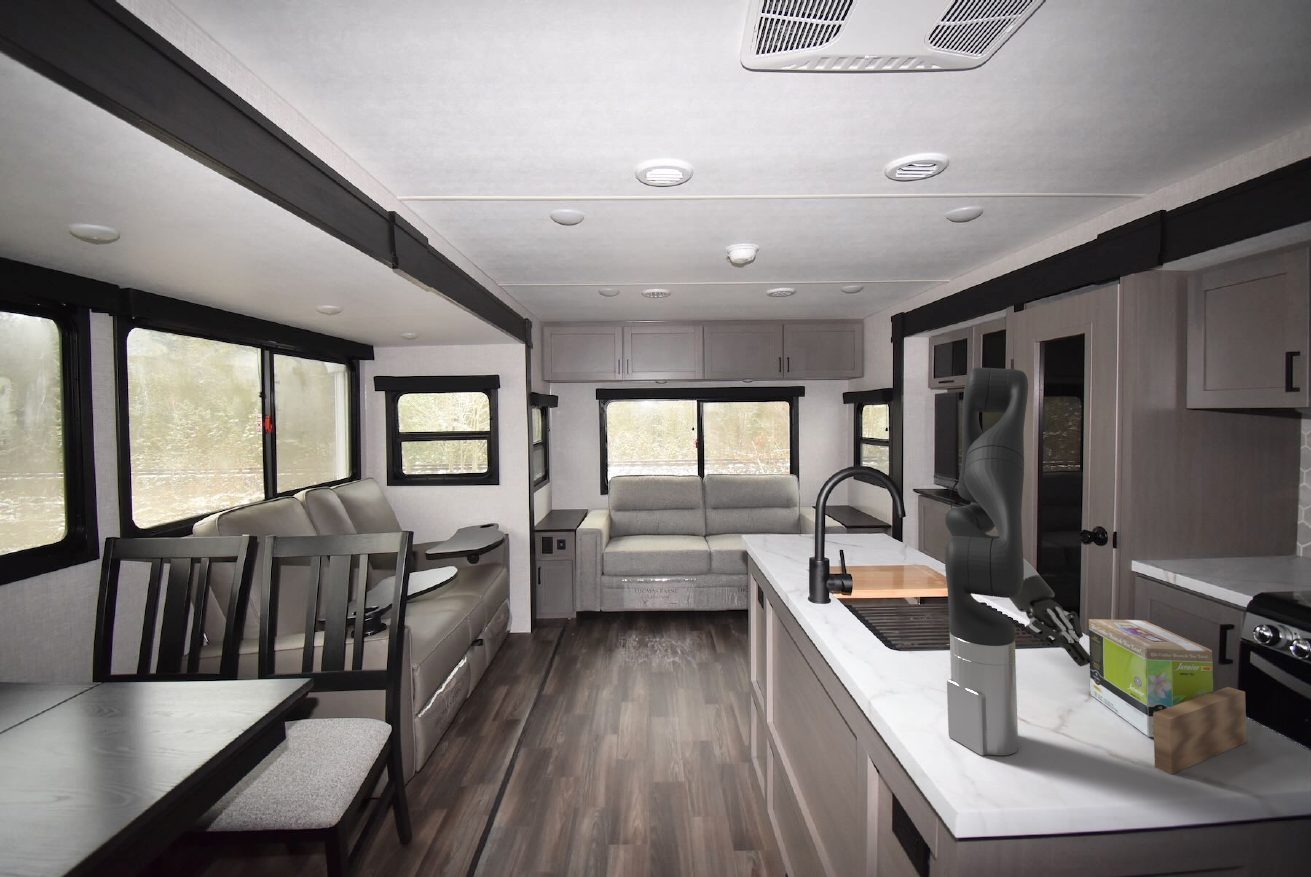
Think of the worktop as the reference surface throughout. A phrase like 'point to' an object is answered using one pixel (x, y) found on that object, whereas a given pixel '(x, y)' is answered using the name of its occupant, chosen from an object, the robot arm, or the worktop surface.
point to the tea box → (1145, 669)
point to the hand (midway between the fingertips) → (1086, 664)
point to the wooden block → (1199, 729)
